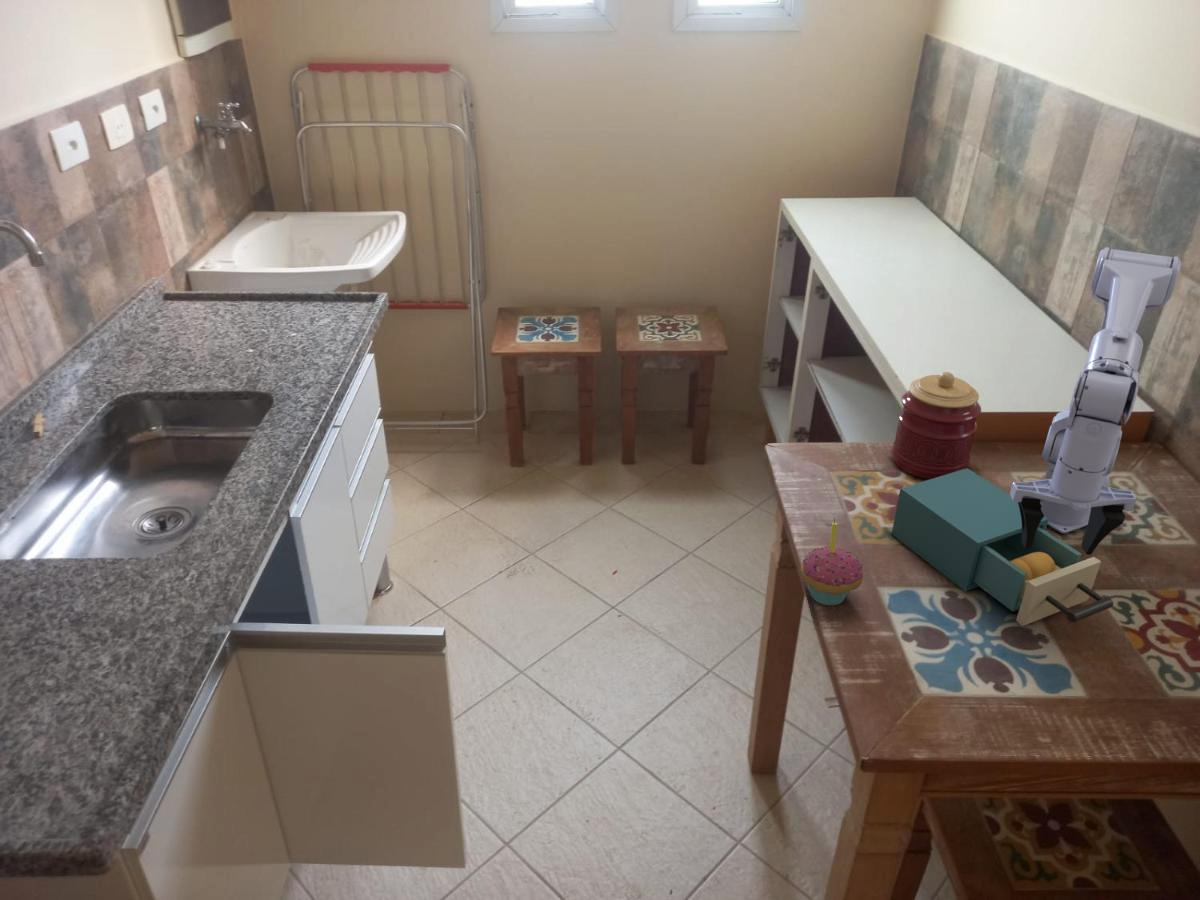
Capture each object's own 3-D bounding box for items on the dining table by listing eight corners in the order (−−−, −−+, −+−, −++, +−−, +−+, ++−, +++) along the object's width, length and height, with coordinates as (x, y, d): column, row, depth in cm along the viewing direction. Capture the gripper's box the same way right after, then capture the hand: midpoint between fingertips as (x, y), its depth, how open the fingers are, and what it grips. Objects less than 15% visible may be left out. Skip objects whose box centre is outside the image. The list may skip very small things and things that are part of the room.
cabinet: (1034, 566, 130) (1048, 518, 126) (965, 591, 126) (978, 543, 121) (956, 513, 143) (967, 468, 138) (891, 534, 138) (900, 488, 133)
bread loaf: (1033, 568, 127) (1040, 542, 125) (1057, 584, 124) (1065, 559, 121) (994, 582, 124) (1001, 556, 122) (1017, 599, 121) (1025, 574, 119)
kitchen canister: (956, 489, 149) (978, 396, 140) (881, 468, 155) (897, 378, 146) (975, 456, 158) (996, 367, 149) (903, 437, 164) (919, 351, 155)
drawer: (1119, 621, 118) (1133, 582, 115) (1052, 649, 114) (1066, 608, 111) (1006, 544, 134) (1016, 507, 130) (944, 566, 129) (953, 528, 126)
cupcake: (790, 578, 129) (799, 510, 122) (847, 574, 129) (859, 507, 123) (807, 617, 121) (818, 547, 115) (867, 613, 122) (881, 543, 116)
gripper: (1030, 472, 108) (1005, 560, 115) (1156, 482, 106) (1124, 570, 113) (1016, 444, 114) (994, 529, 121) (1135, 453, 112) (1106, 539, 119)
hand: (1055, 547), depth 118 cm, fingers open, 7 cm apart
